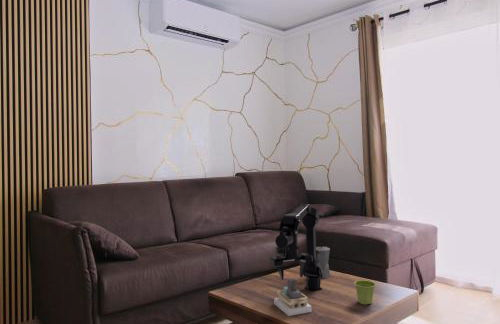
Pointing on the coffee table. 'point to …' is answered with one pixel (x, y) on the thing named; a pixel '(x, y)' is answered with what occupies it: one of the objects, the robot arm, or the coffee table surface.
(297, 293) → the charcoal block
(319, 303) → the coffee table surface
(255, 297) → the coffee table surface
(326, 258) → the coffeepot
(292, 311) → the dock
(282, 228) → the robot arm
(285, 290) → the teal block
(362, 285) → the plant pot
